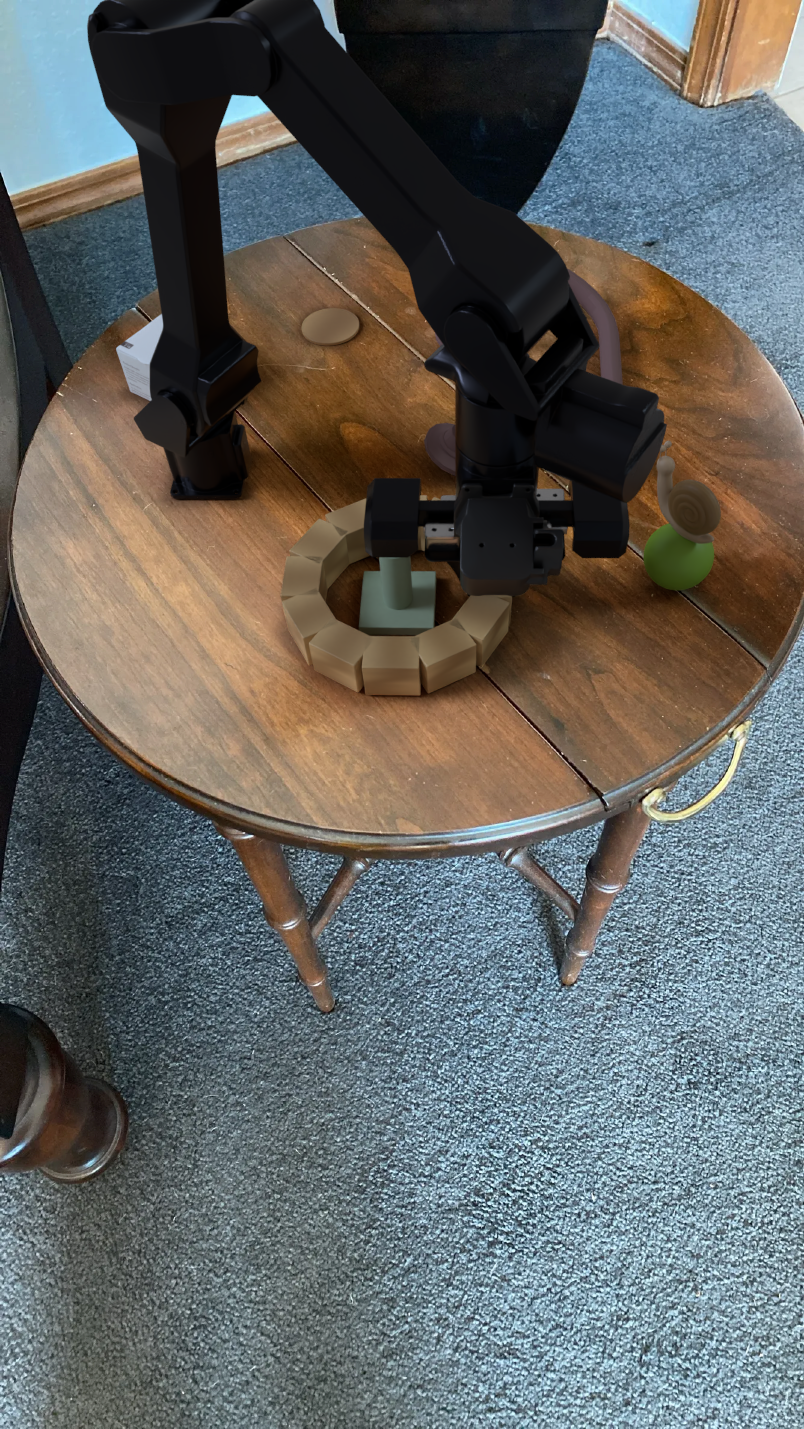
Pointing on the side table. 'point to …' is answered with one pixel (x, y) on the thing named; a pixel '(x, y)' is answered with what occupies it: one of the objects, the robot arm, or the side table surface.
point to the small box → (140, 357)
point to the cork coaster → (330, 326)
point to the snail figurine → (681, 530)
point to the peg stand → (397, 599)
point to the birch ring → (378, 658)
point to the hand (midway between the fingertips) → (491, 592)
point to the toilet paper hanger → (443, 434)
